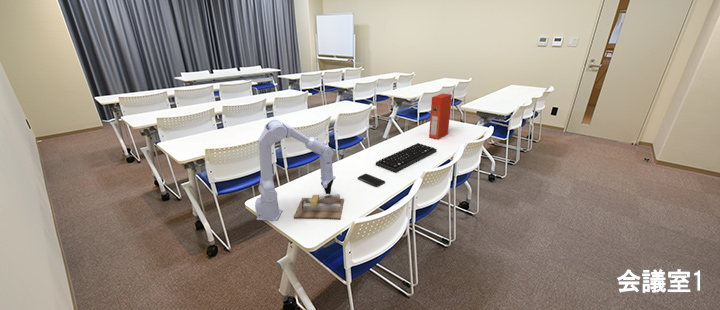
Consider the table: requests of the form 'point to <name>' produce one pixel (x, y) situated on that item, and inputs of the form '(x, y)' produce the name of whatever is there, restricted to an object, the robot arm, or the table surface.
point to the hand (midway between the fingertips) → (328, 193)
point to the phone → (371, 180)
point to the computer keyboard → (405, 157)
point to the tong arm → (328, 199)
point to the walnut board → (318, 212)
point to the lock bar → (314, 200)
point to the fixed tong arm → (321, 207)
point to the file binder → (440, 116)
